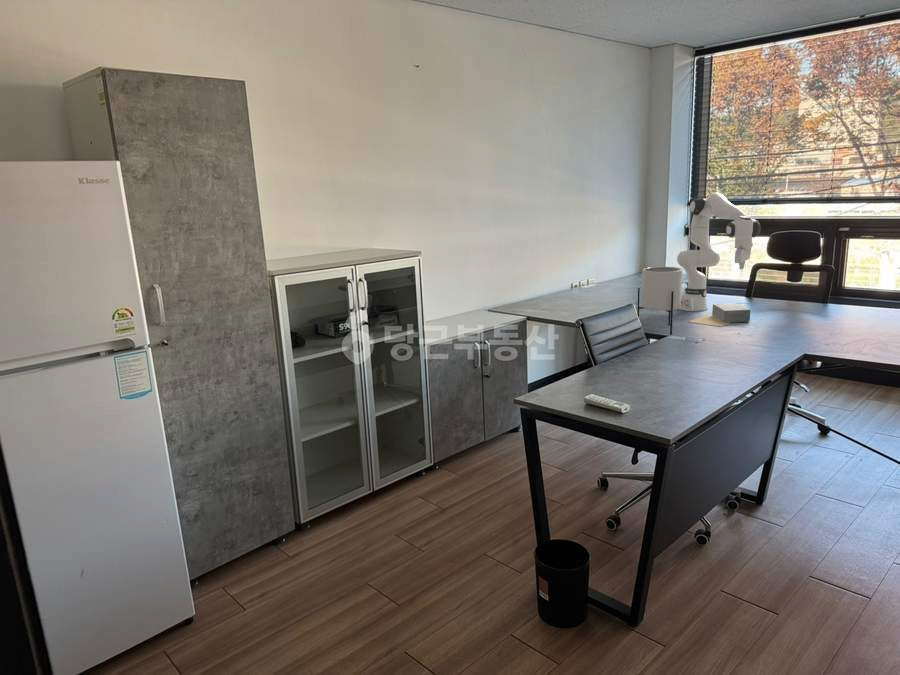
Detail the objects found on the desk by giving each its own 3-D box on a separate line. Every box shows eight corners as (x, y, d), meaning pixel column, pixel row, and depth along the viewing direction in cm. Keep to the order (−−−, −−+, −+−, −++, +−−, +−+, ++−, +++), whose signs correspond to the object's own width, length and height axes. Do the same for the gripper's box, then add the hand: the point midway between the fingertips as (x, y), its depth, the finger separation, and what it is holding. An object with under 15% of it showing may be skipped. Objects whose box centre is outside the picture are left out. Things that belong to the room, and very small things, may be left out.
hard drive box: (749, 322, 363) (737, 314, 382) (750, 309, 361) (738, 302, 380) (722, 322, 364) (711, 315, 383) (723, 310, 362) (712, 303, 381)
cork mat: (688, 322, 372) (688, 321, 371) (706, 315, 385) (706, 315, 385) (720, 326, 357) (720, 326, 357) (738, 319, 370) (738, 319, 370)
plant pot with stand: (680, 334, 344) (683, 272, 336) (636, 333, 352) (637, 272, 343) (679, 325, 366) (681, 266, 357) (637, 324, 374) (639, 266, 365)
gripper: (744, 247, 339) (742, 271, 342) (753, 243, 354) (751, 266, 357) (732, 246, 342) (730, 271, 346) (741, 242, 358) (740, 266, 361)
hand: (741, 269), depth 352 cm, fingers closed
